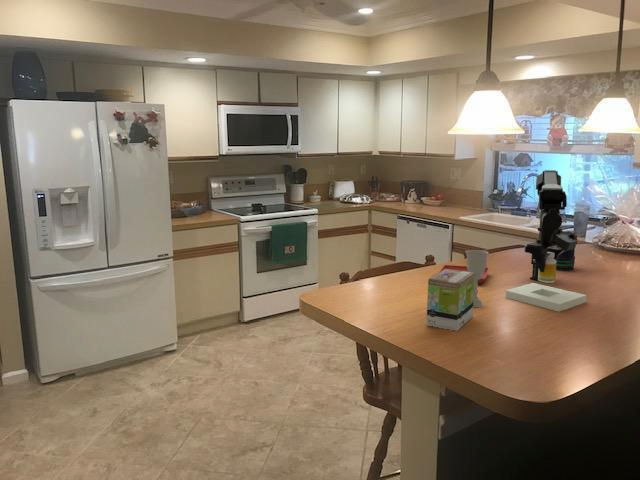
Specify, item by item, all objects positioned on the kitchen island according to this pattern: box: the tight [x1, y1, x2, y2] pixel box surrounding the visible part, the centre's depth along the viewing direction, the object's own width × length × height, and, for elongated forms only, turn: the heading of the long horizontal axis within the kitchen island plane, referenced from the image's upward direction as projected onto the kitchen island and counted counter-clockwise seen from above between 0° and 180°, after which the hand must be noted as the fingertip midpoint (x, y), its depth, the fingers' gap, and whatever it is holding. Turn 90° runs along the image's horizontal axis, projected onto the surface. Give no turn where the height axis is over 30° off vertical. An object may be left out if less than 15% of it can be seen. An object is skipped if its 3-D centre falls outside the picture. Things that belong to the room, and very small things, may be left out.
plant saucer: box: [438, 264, 490, 285], centre depth 213 cm, size 18×18×3 cm
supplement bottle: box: [537, 252, 557, 284], centre depth 182 cm, size 5×5×10 cm
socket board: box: [504, 282, 587, 313], centre depth 184 cm, size 20×16×2 cm
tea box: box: [425, 269, 475, 332], centre depth 163 cm, size 15×10×15 cm
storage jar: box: [556, 230, 577, 272], centre depth 225 cm, size 10×10×15 cm
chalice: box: [465, 249, 489, 308], centre depth 178 cm, size 7×7×18 cm
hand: (546, 270), depth 182 cm, fingers closed on supplement bottle, 5 cm apart
